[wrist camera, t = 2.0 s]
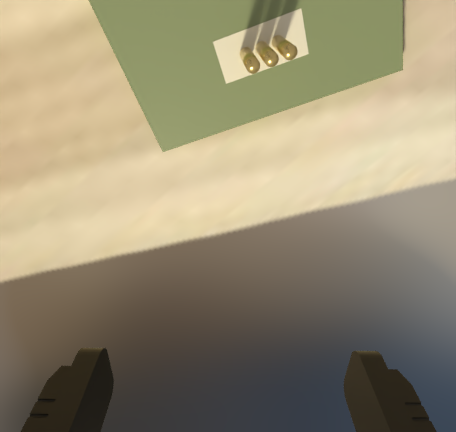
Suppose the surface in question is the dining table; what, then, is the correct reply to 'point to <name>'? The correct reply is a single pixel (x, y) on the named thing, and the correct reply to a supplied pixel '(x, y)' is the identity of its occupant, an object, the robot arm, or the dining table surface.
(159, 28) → the board
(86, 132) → the dining table surface
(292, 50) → the header pins
